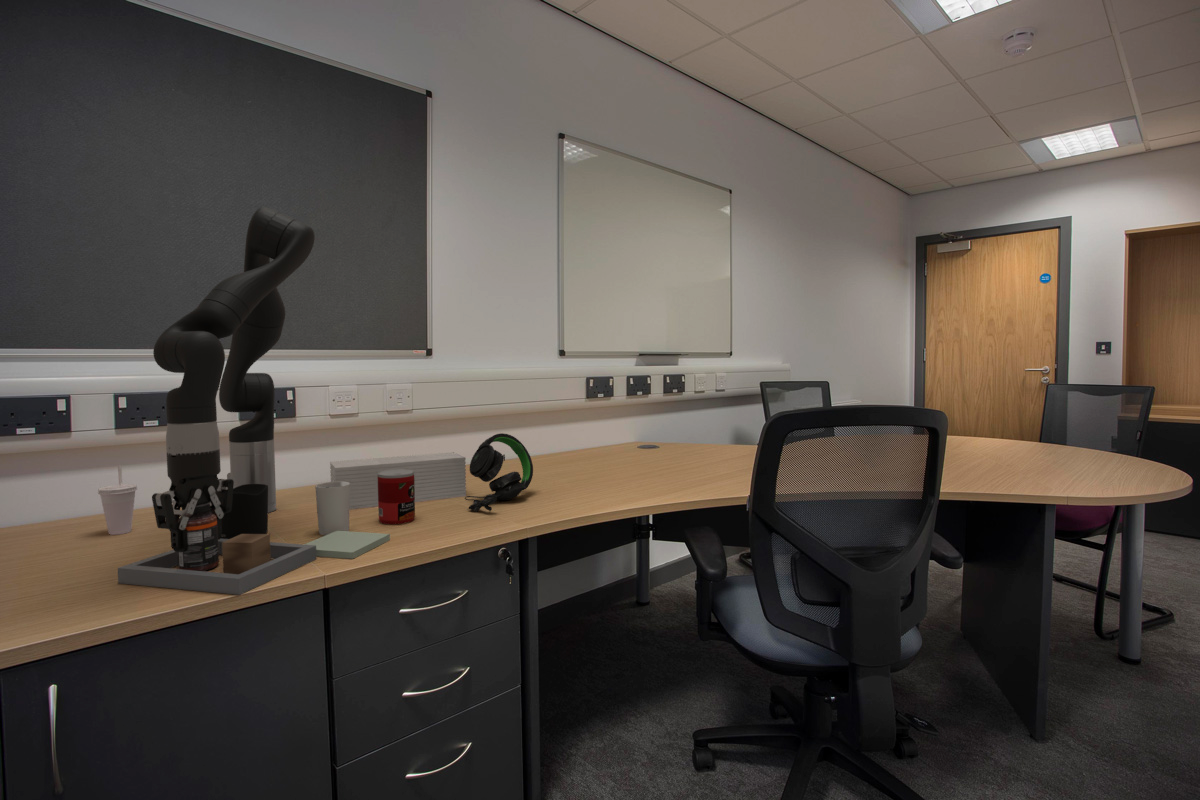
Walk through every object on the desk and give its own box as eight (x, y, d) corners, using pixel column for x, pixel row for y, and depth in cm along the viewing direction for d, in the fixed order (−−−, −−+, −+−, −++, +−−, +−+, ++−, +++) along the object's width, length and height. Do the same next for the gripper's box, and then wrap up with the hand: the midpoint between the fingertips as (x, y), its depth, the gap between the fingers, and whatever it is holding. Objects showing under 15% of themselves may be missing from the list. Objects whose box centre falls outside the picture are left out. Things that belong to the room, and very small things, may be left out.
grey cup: (315, 537, 121) (313, 488, 120) (317, 529, 127) (316, 483, 127) (350, 534, 123) (349, 486, 123) (351, 526, 130) (350, 480, 129)
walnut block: (223, 578, 98) (222, 542, 98) (243, 567, 103) (241, 533, 103) (252, 578, 98) (251, 542, 98) (271, 568, 103) (269, 534, 102)
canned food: (404, 525, 130) (403, 475, 129) (371, 523, 131) (370, 474, 131) (421, 517, 137) (420, 469, 137) (390, 515, 139) (389, 468, 138)
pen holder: (221, 533, 124) (219, 486, 124) (272, 528, 128) (270, 482, 127) (211, 545, 116) (209, 495, 115) (266, 539, 119) (265, 490, 119)
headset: (481, 538, 147) (528, 472, 168) (513, 525, 139) (558, 457, 160) (436, 490, 143) (490, 429, 164) (467, 474, 136) (519, 412, 156)
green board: (295, 554, 110) (295, 548, 110) (337, 536, 122) (337, 530, 122) (352, 558, 107) (352, 552, 107) (389, 539, 119) (389, 534, 119)
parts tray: (118, 583, 96) (117, 567, 96) (209, 550, 112) (209, 537, 112) (239, 594, 91) (238, 578, 90) (316, 558, 107) (316, 545, 107)
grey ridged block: (454, 489, 168) (453, 452, 168) (466, 497, 159) (465, 457, 158) (331, 503, 152) (330, 461, 152) (336, 512, 143) (335, 467, 142)
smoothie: (145, 530, 127) (142, 465, 126) (110, 538, 121) (107, 470, 120) (128, 526, 129) (125, 463, 129) (93, 534, 124) (89, 467, 123)
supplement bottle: (191, 563, 105) (188, 500, 105) (226, 562, 106) (223, 499, 105) (169, 574, 99) (166, 508, 99) (207, 573, 100) (204, 507, 99)
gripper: (211, 442, 109) (215, 532, 110) (134, 454, 95) (139, 557, 96) (245, 443, 108) (249, 535, 109) (172, 455, 94) (177, 560, 95)
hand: (197, 545), depth 102 cm, fingers closed on supplement bottle, 6 cm apart
